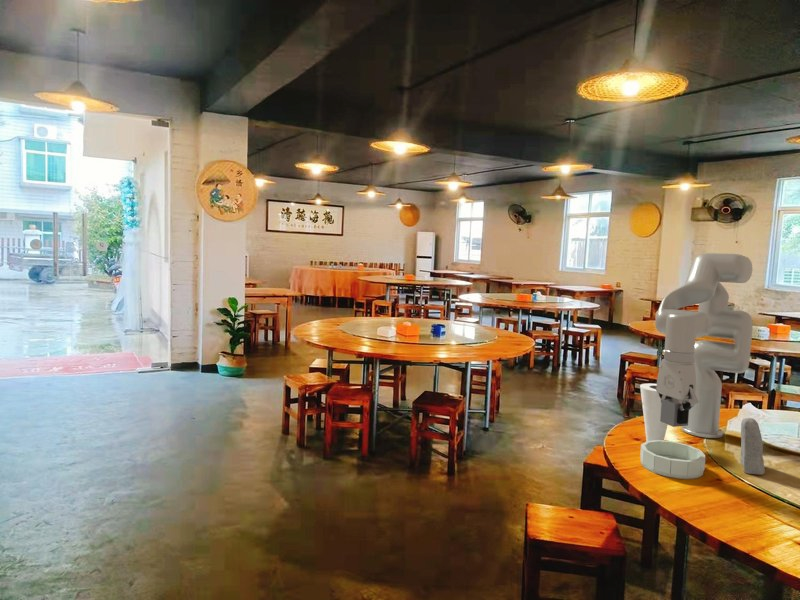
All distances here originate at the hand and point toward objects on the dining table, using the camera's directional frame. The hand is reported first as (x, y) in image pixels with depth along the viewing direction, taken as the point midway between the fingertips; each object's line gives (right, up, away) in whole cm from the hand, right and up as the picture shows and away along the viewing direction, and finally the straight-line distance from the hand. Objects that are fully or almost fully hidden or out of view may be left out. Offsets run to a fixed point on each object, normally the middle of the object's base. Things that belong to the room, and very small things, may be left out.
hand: (674, 419), depth 154 cm
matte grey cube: (0, -1, 0) cm, 1 cm away
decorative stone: (+23, -15, +2) cm, 27 cm away
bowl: (0, -14, +2) cm, 14 cm away
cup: (+5, -12, +22) cm, 25 cm away
